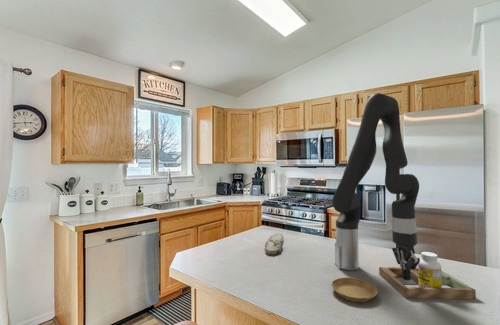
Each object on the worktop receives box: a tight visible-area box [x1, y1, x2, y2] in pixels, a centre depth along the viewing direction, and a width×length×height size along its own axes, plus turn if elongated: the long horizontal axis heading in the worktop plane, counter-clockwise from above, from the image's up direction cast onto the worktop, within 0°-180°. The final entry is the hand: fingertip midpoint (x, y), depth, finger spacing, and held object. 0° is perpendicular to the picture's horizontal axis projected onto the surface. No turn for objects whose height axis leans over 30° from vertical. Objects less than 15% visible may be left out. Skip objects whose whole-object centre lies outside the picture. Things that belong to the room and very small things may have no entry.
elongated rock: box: [264, 232, 284, 255], centre depth 141 cm, size 35×5×10 cm
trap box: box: [378, 266, 477, 300], centre depth 92 cm, size 22×18×3 cm
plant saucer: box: [330, 277, 378, 303], centre depth 86 cm, size 15×15×3 cm
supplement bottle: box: [417, 251, 443, 288], centre depth 88 cm, size 7×7×13 cm
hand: (406, 279), depth 88 cm, fingers closed
